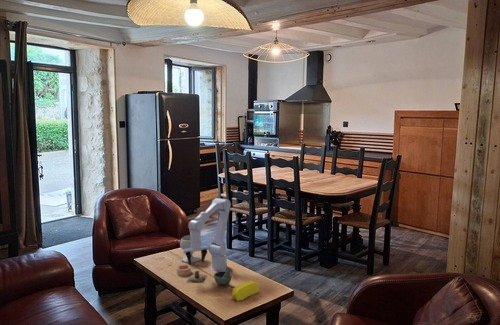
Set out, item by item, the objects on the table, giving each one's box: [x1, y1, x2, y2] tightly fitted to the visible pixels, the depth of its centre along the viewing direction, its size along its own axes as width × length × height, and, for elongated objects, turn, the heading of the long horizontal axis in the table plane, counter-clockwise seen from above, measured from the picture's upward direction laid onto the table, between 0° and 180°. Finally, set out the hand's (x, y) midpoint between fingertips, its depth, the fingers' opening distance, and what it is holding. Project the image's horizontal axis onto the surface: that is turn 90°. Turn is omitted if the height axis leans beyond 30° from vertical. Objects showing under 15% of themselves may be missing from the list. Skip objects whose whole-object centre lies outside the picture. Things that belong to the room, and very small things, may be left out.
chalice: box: [179, 234, 201, 264], centre depth 250 cm, size 14×14×15 cm
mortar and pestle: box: [213, 267, 233, 289], centre depth 211 cm, size 11×9×12 cm
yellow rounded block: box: [231, 280, 260, 302], centre depth 201 cm, size 18×7×8 cm
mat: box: [186, 274, 208, 284], centre depth 220 cm, size 10×10×1 cm
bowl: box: [175, 264, 192, 277], centre depth 229 cm, size 8×8×4 cm
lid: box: [189, 270, 205, 282], centre depth 220 cm, size 9×9×4 cm
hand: (196, 263), depth 219 cm, fingers open, 7 cm apart
